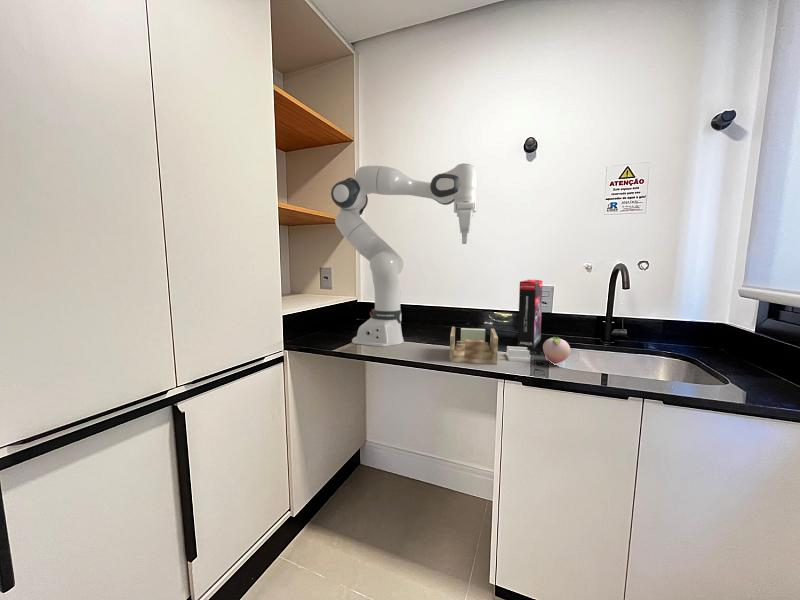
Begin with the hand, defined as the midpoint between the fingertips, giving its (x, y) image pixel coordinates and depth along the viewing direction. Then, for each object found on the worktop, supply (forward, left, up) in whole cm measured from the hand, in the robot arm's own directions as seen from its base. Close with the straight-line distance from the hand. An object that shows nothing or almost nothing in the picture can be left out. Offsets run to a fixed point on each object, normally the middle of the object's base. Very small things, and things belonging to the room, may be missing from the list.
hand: (464, 243), depth 131 cm
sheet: (+4, -9, -41) cm, 42 cm away
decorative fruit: (+32, -17, -42) cm, 56 cm away
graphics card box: (+28, +10, -42) cm, 52 cm away
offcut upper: (+5, -19, -38) cm, 43 cm away
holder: (+20, -13, -42) cm, 48 cm away
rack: (+4, -14, -42) cm, 45 cm away
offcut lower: (+4, -19, -41) cm, 45 cm away
